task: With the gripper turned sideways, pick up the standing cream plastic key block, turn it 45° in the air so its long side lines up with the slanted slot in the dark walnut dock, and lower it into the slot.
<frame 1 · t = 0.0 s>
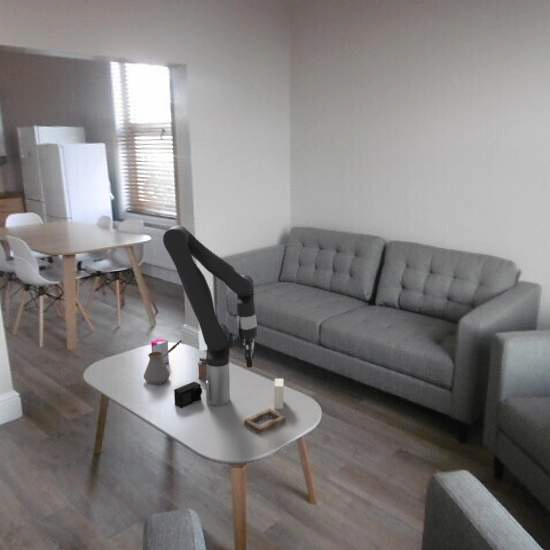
hand: (250, 362, 213), 17 cm above the table, tool pointing down, fingers open, 8 cm apart
digital camera: (189, 403, 216), on the table
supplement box: (160, 363, 253), on the table
lighter: (207, 379, 237), on the table
coffee pot: (165, 377, 238), on the table
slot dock: (264, 423, 200), on the table
key block: (278, 404, 214), on the table
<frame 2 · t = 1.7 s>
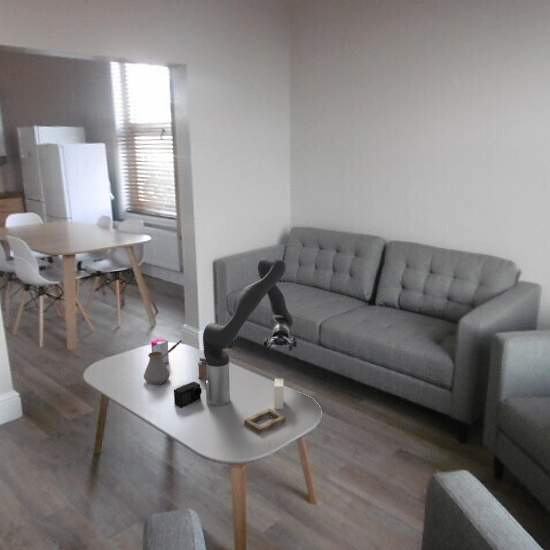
hand: (279, 348, 220), 20 cm above the table, tool horizontal, fingers open, 8 cm apart
nothing on the table moved.
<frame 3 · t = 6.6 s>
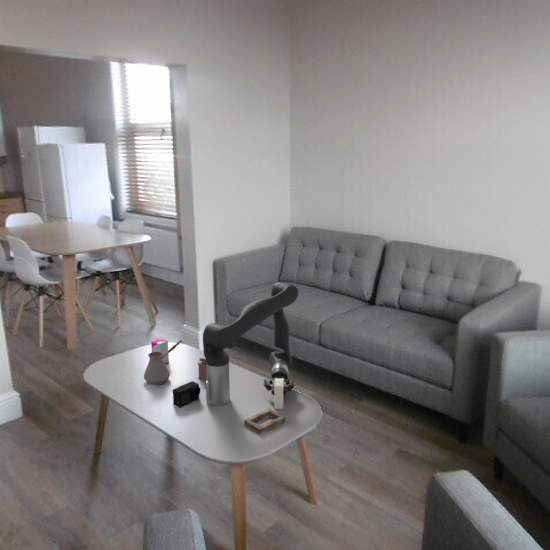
hand: (279, 393, 211), 6 cm above the table, tool horizontal, fingers closed on key block, 3 cm apart
key block: (279, 404, 214), on the table, touching gripper
everything else where it was.
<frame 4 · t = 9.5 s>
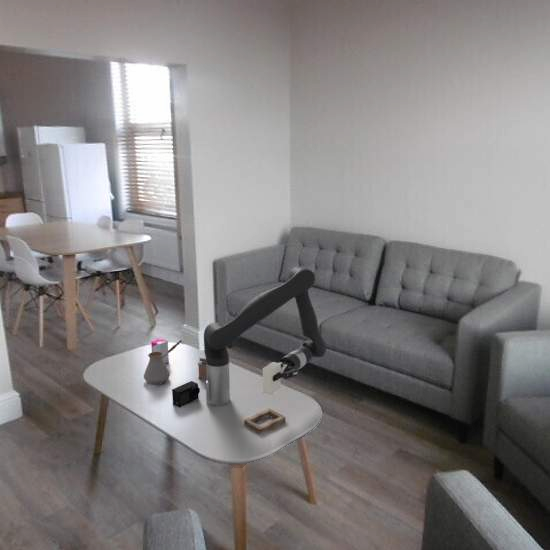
hand: (269, 377, 198), 18 cm above the table, tool horizontal, fingers closed on key block, 3 cm apart
key block: (271, 390, 201), point 12 cm above the table, touching gripper
when the fingers open (9 cm above the table, at t = 12.5 s): key block drops 3 cm, resting in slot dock.
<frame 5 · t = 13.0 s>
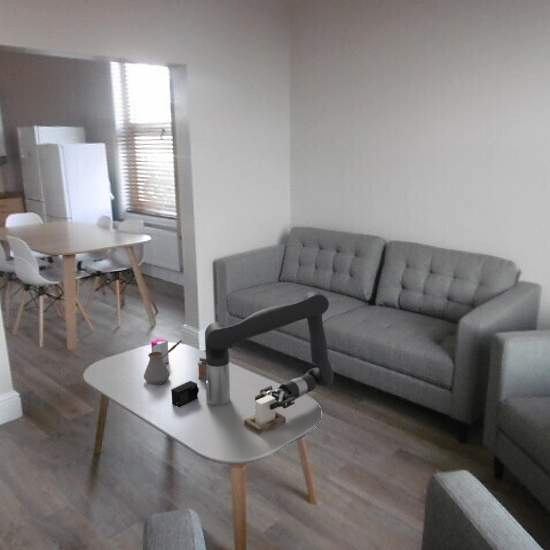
hand: (262, 403, 197), 9 cm above the table, tool horizontal, fingers open, 8 cm apart
key block: (265, 423, 200), resting in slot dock
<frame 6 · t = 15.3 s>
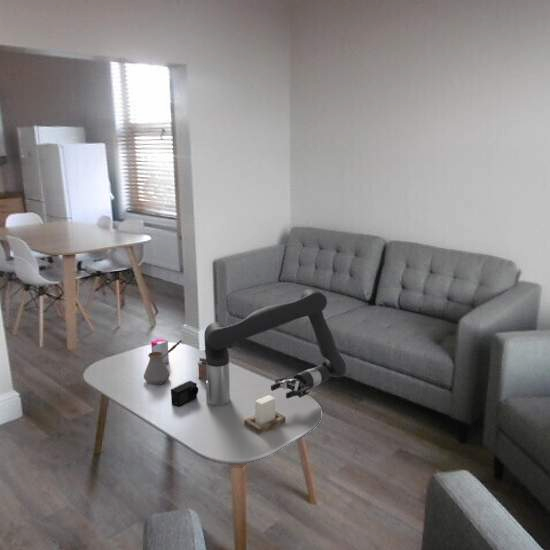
hand: (278, 392, 203), 10 cm above the table, tool horizontal, fingers open, 8 cm apart
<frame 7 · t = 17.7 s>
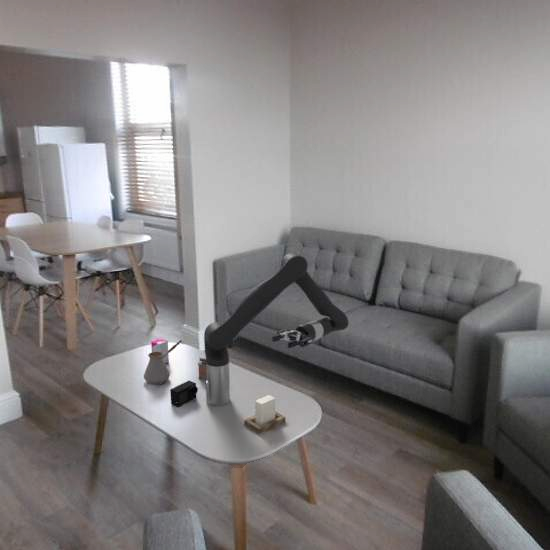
hand: (280, 342, 200), 30 cm above the table, tool horizontal, fingers open, 8 cm apart
at the end: key block 0.1 cm off-centre on the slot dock, point 0.0 cm above the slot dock's base; key block tilted 0°; the gripper is holding nothing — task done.
